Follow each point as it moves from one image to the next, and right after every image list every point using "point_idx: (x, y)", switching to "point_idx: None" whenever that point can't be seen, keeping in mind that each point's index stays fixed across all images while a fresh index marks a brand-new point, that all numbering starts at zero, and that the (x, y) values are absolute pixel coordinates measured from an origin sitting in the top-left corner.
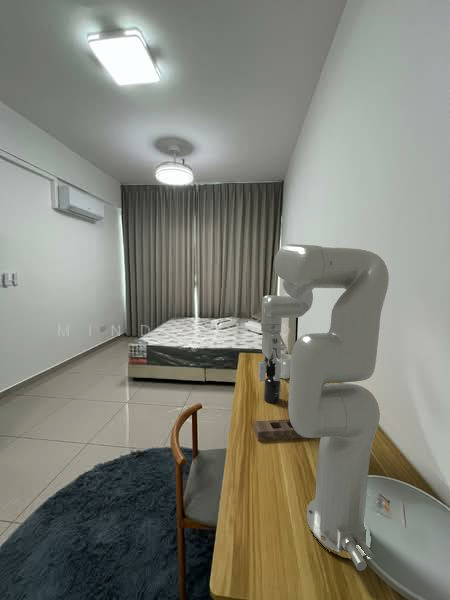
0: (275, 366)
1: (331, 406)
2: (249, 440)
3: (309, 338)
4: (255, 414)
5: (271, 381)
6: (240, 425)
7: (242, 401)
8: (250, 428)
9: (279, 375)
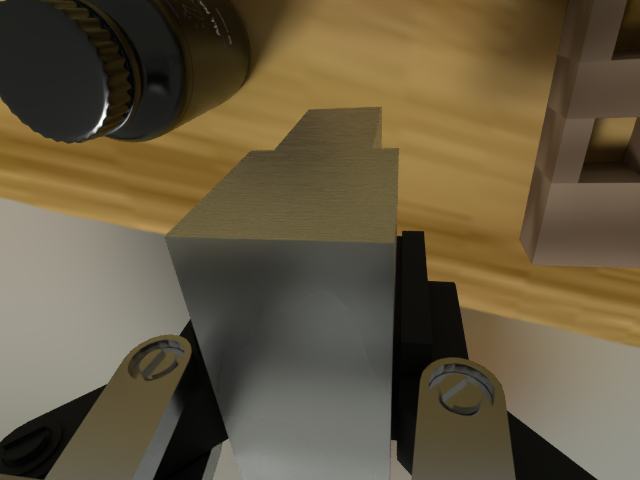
0: (485, 370)
1: None
2: (601, 275)
3: None
4: None
5: (157, 97)
6: (471, 287)
7: None
8: (507, 250)
9: (375, 136)
